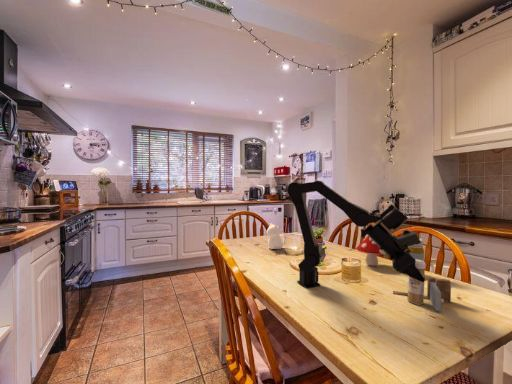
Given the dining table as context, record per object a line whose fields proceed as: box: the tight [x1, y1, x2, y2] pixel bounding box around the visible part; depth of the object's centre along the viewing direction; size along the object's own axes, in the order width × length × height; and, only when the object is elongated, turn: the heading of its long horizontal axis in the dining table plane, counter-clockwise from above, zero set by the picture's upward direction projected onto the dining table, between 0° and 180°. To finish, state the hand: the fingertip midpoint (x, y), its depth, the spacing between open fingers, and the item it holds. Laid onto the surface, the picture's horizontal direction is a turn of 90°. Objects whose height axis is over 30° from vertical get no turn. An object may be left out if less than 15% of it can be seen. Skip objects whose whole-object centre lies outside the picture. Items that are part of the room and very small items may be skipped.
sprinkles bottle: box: [407, 259, 427, 306], centre depth 81 cm, size 5×5×13 cm
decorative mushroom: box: [355, 235, 387, 267], centre depth 119 cm, size 14×14×15 cm
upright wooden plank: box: [392, 276, 452, 303], centre depth 85 cm, size 16×2×7 cm, turn 65°
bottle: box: [405, 238, 425, 262], centre depth 107 cm, size 7×7×15 cm
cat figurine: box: [266, 222, 287, 250], centre depth 151 cm, size 9×12×15 cm
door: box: [429, 282, 445, 313], centre depth 78 cm, size 9×2×6 cm, turn 155°
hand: (421, 276), depth 81 cm, fingers open, 9 cm apart
